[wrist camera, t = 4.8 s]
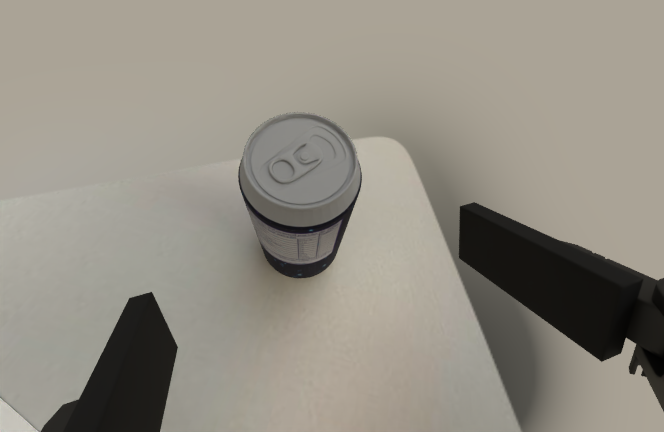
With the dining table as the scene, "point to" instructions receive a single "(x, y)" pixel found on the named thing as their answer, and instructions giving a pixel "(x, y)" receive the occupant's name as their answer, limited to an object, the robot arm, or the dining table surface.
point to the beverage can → (300, 190)
